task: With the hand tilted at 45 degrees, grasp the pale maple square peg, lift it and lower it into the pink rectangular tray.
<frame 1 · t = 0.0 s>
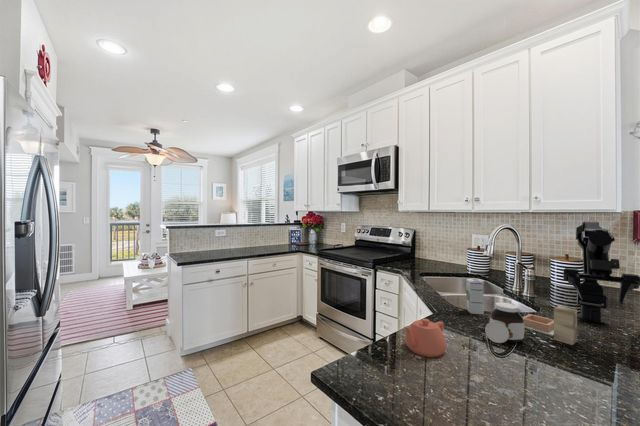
hand: (601, 301, 93), 15 cm above the countertop, tool tilted 35°, fingers open, 9 cm apart
spread jar: (504, 340, 97), on the countertop
teapot: (423, 350, 89), on the countertop
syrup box: (474, 312, 126), on the countertop
pink rectangular tray: (538, 326, 110), on the countertop
maple peg: (565, 340, 97), on the countertop
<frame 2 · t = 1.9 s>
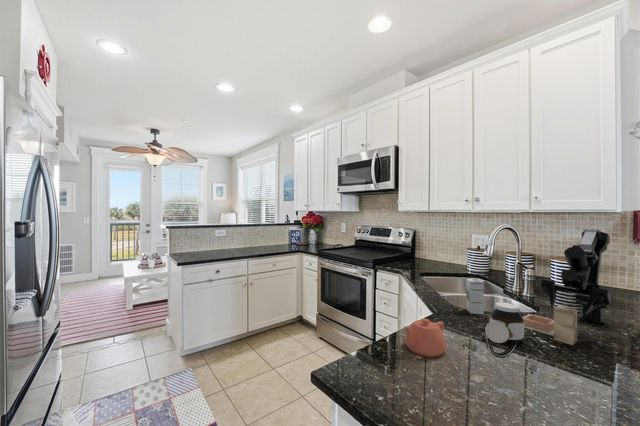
hand: (567, 309, 99), 10 cm above the countertop, tool tilted 45°, fingers open, 9 cm apart
nothing on the countertop moved.
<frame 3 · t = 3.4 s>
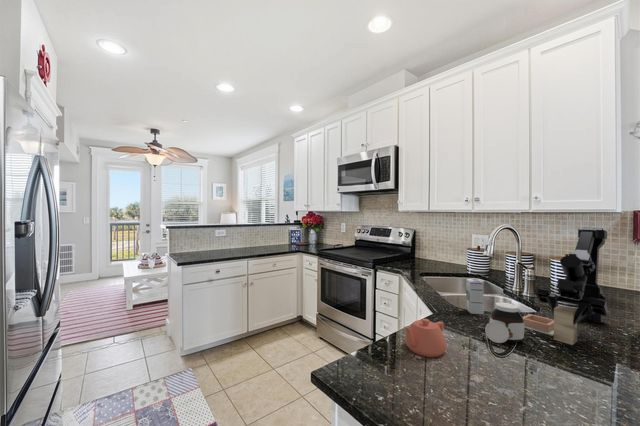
hand: (564, 320, 97), 7 cm above the countertop, tool tilted 45°, fingers closed on maple peg, 5 cm apart
maple peg: (565, 340, 97), on the countertop, touching gripper
everything else where it was.
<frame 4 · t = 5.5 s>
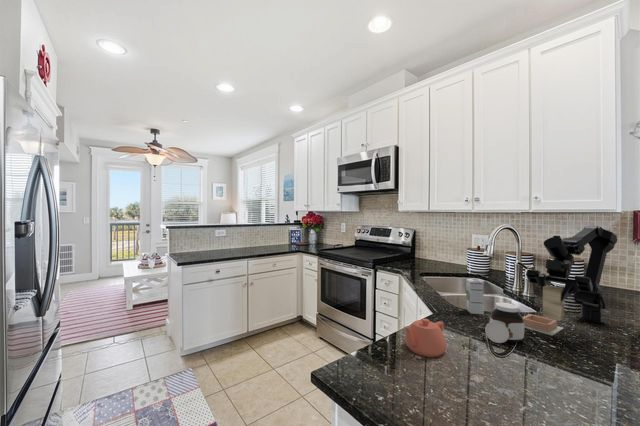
hand: (552, 298, 102), 13 cm above the countertop, tool tilted 45°, fingers closed on maple peg, 5 cm apart
maple peg: (553, 317, 103), point 6 cm above the countertop, touching gripper
everything else where it was.
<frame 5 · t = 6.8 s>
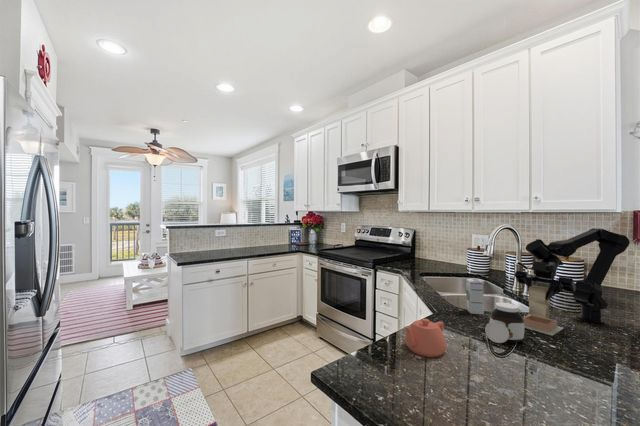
hand: (537, 297, 109), 12 cm above the countertop, tool tilted 45°, fingers closed on maple peg, 5 cm apart
maple peg: (539, 315, 110), point 4 cm above the countertop, touching gripper
everything else where it was.
when the fingers open (9 cm above the countertop, at t = 7.8 s): maple peg drops 1 cm, resting on pink rectangular tray.
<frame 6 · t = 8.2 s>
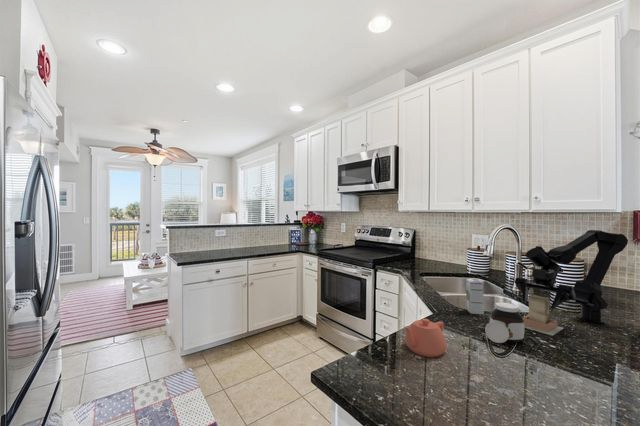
hand: (537, 305, 109), 9 cm above the countertop, tool tilted 45°, fingers open, 9 cm apart
maple peg: (538, 325, 110), resting on pink rectangular tray
everything else where it was.
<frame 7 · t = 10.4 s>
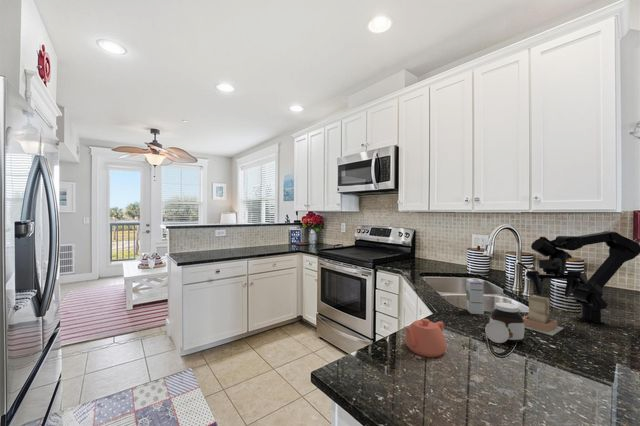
hand: (551, 295, 110), 12 cm above the countertop, tool tilted 40°, fingers open, 9 cm apart
nothing on the countertop moved.
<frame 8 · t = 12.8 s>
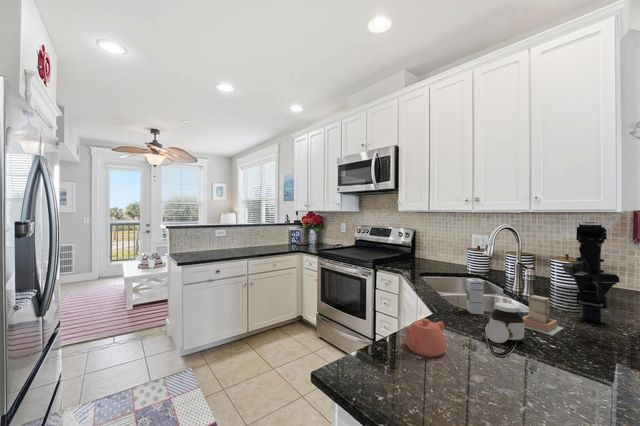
hand: (590, 296, 107), 13 cm above the countertop, tool pointing down, fingers open, 9 cm apart
nothing on the countertop moved.
at the end: maple peg 0.0 cm off-centre on the pink rectangular tray, point 0.4 cm above the pink rectangular tray's base; maple peg tilted 0°; the gripper is holding nothing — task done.
